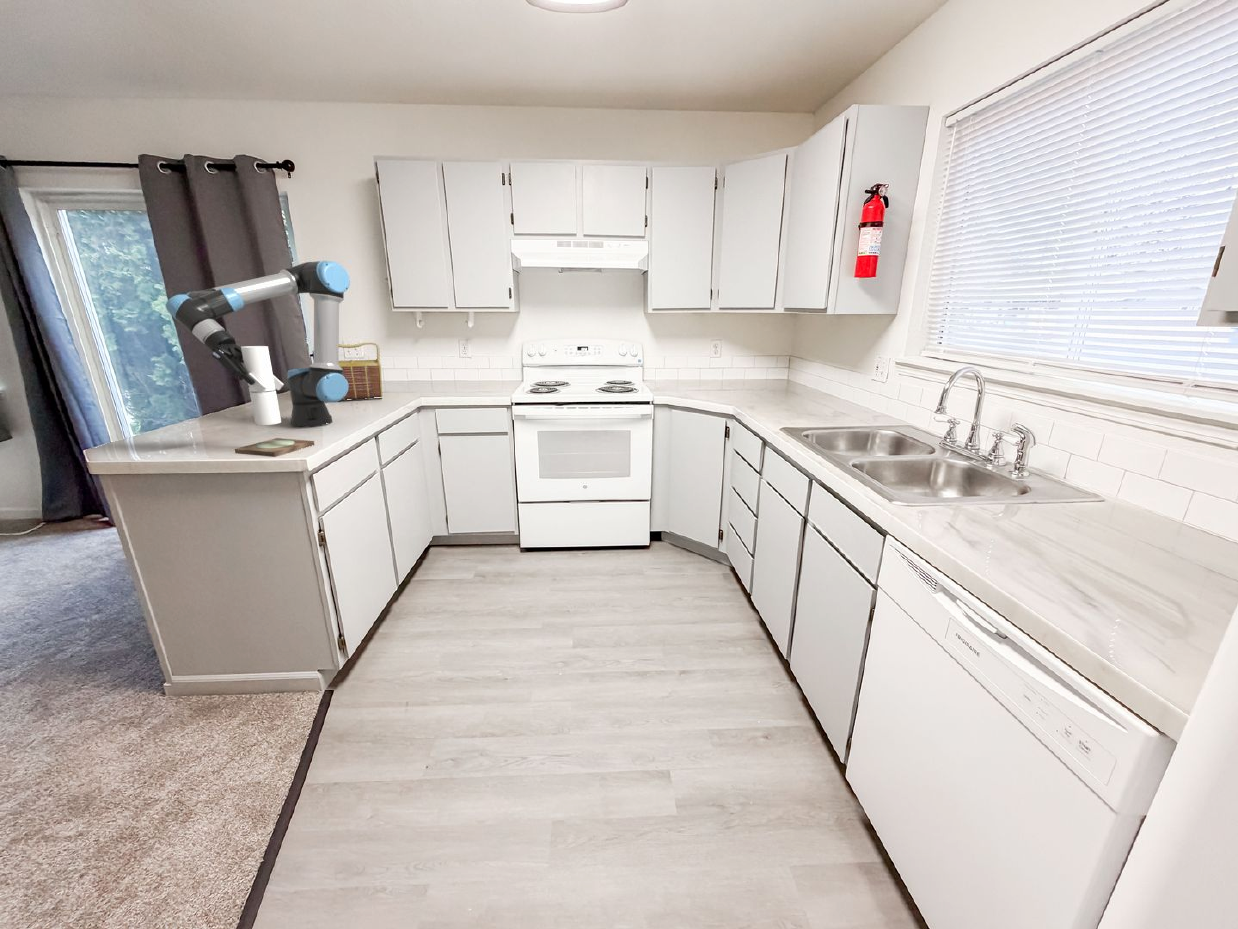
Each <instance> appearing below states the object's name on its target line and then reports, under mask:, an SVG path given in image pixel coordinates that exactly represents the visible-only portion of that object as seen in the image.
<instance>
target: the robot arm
mask: <svg viewBox="0 0 1238 929" xmlns="http://www.w3.org/2000/svg"><path fill="white" fill-rule="evenodd" d="M350 285H351V280H350V276H349V274H348V272H347V270H346V269H345V268H344V266H342V265H341V264H339V263H338V262H336V261H332V260H320V261H319V260H318V261H307V262H303V263H299V264H297V265H294V266H291V267H290V266H289V267H288V268H284V269H280V271H279V273H275V274H269V275H265V276H259V277H257V278H252V279H248V280H247V279H246V280H243V281H239V282H234V283H229V284H225V285H221V286H220V285H219V286H217V287H212V288H208V289H207V288H206V289H204V290H203V289H202V290H199V291H198V290H197V291H195V290H193V291H189V292H187V293H185V294H183V293H182V294H176V295H173V296H172V297H170V298H168V300H167V301H166V303H165V308H166V311H167V312H168V313H169V314H170V315H171V317H173V318H174V320H176V321H177V322H178V323H180V324H181V325H182V326H183V327H185V328H186V329H187V330H188V331H189V332H191V334H192V335H194V336H195V338H197V339H198V340H199V341H200V342H201V343H203V344H204V345H205V347H207V348H208V349H209V350H210V351H211V352H212V354H211V357H212V358H214V359H215V360H217V361H218V362H219V363H220V364H221V365H222V366H223V367H224V368H225V370H227V371H228V372H229V374H230V375H232V377H233V378H235V379H236V378H237V379H238V380H239V381H245V382H246V383H247V384H248V383H249V384H250V385H251V386H253V387H254V388H255V389H256V390H257V391H258V392H259V393H260V394H262V393H263V392H264V391H265V389H266V388H267V387H266V386H265V385H263V384H262V383H261V382H260V381H259V380H258V379H257V378H256V377H255V376H253V375H252V374H251V373H248V374H247V371H246V370H245V366H244V361H243V356H242V350H241V347H242V346H239V345H238V344H236V339H235V337H234V336H232V334H230V333H229V332H228V331H227V330H225V328H224V327H223V326H221V324H219V323H218V322H217V321H216V319H219V318H222V317H224V316H228V315H230V314H233V313H235V312H237V311H239V310H241V309H243V307H244V306H245V305H248V304H251V303H252V304H253V303H256V302H257V303H258V302H260V301H264V300H268V299H272V298H276V297H280V296H283V295H292V296H296V295H299V294H309V297H311V299H312V300H313V363H311V364H310V365H309V366H308V367H304V368H293V369H289V370H288V371H287V382H288V388H289V392H290V393H289V394H290V399H291V405H292V407H291V408H292V410H291V417H290V418H289V422H290V426H292V425H293V426H292V427H296V426H309V427H316V426H315V425H319V426H323V425H322V424H325V425H327V424H326V423H329V424H331V423H333V417H332V415H331V414H330V411H329V409H328V406H326V405H327V404H326V403H337V402H340V400H341V399H343V398H344V397H345V396H346V394H347V392H348V382H347V380H346V379H345V377H344V376H343V369H342V368H341V367H340V366H339V364H338V362H339V361H340V360H339V353H340V352H339V351H340V350H339V348H340V347H339V344H340V343H339V342H340V337H339V336H340V304H341V303H342V302H343V301H344V296H345V295H344V293H345V292H347V291H348V290H349V288H350ZM273 378H274V383H275V389H276V390H277V391H280V390H281V389H282V388H283V387H284V385H285V384H284V382H282V381H281V380H279V379H278V377H277V376H276V375H274V374H273Z"/></svg>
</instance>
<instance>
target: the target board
mask: <svg viewBox="0 0 1238 929" xmlns="http://www.w3.org/2000/svg"><path fill="white" fill-rule="evenodd" d="M312 445H313V446H315V440H306V439H304V440H303V439H291V438H282V437H281V438H280V437H276V438H271V439H267V440H264V441H260V442H256V443H252V444H248V445H244V446H241V447H237V448H234V453H235V454H238V455H239V454H241V455H251V456H263V457H271V458H272V457H274V458H276V457H280V456H282V455H286V454H290V453H293V452H295V451H296V452H297V451H299V449H300V450H302V449H301V448H303V449H307V448H310V447H313V446H312ZM309 446H310V447H309ZM306 447H307V448H306Z"/></svg>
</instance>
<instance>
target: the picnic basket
mask: <svg viewBox="0 0 1238 929" xmlns="http://www.w3.org/2000/svg"><path fill="white" fill-rule="evenodd" d="M364 345H374V346H375V347H376V359H359V360H358V359H357V360H356V359H355V360H353V359H350V360H339V362H338V364H339V366H340V367H341V368H342V369H343V376H344V377H345V379H346V380H347V382H348V392H347V394H346V396H345V397H344V398H343V399H341V400H344V401H348V400H347V399H361V400H366V399H365V398H374V397H382V398H383V386H382V384H383V383H382V382H383V381H382V363H381V360H380V346H379V344H377V342H376V343H375V342H360V343H356V344H341V343H339V348H344V349H348V348H349V349H354V348H360V347H362V346H364Z"/></svg>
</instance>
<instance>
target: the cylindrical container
mask: <svg viewBox="0 0 1238 929" xmlns="http://www.w3.org/2000/svg"><path fill="white" fill-rule="evenodd" d="M240 347H241V350H242V356H243V358H242V359H243V361H244V363H243V367H244V368H245V370H246V371H247V374H248V373H251V374H252V375H253V376H255V377H256V378H257V379H258V380H259V381H260V382H261V383H262V384H263V385H265V386H266V387H267V388H266V389H265V391H264V392H263V393H262V394H260V393H259V392H258V391H257V390H256V389H255V388H254V387H253V386H251V385H250V384H249V383H247V385H248V387H247V388H248V391H249V396H250V401H251V406H252V412H253V416H254V422H255V425H257V426H272V425H277V424H281V423H282V418H281V413H280V406H279V401H278V395H277V391H276V390H277V389H276V388H275V383H274V378H273V375H274V374H273V366H272V363H271V358H270V351H269V345H267V346H266V345H253V346H252V345H248V346H245V345H244V346H240Z"/></svg>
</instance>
